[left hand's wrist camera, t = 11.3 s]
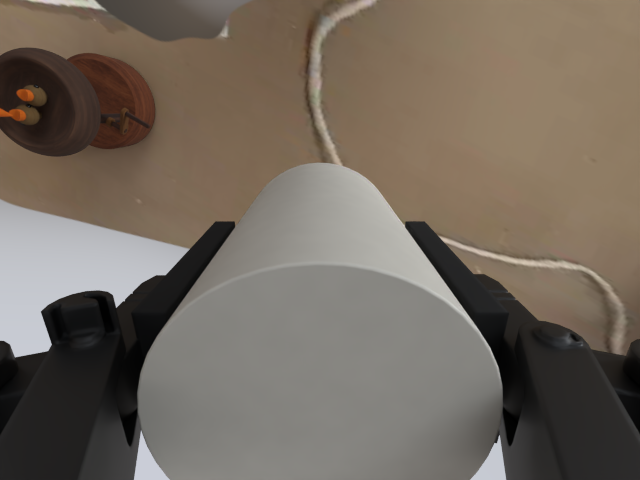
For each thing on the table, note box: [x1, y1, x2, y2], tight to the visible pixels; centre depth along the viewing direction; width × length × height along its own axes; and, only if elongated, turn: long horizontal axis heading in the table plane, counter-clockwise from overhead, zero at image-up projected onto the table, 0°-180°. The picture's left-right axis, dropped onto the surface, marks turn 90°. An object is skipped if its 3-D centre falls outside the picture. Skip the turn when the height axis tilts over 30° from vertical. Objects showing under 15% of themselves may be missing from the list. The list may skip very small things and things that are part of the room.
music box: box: [0, 48, 155, 156], centre depth 34 cm, size 15×11×20 cm
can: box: [137, 163, 503, 480], centre depth 11 cm, size 7×7×10 cm
